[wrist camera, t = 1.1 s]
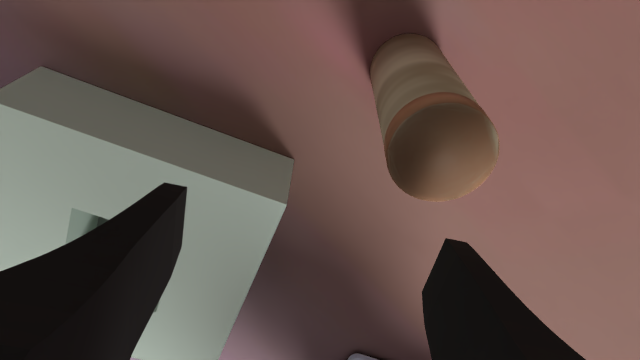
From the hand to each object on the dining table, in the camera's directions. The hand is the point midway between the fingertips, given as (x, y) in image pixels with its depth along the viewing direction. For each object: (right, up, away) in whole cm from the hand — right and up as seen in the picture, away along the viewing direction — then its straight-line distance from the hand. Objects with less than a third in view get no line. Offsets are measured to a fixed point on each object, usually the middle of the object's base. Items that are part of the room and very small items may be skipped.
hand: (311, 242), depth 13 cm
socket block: (-9, 0, +12) cm, 15 cm away
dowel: (+4, +6, +8) cm, 11 cm away
